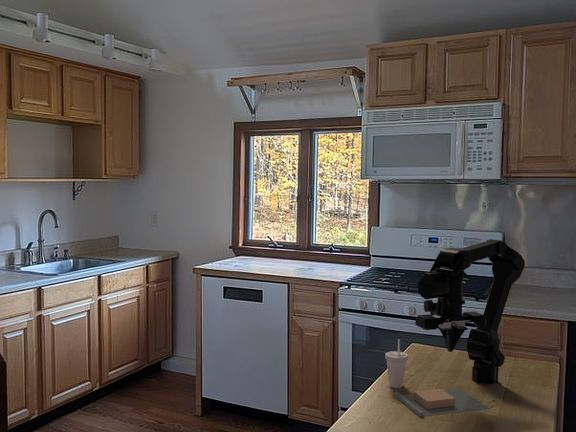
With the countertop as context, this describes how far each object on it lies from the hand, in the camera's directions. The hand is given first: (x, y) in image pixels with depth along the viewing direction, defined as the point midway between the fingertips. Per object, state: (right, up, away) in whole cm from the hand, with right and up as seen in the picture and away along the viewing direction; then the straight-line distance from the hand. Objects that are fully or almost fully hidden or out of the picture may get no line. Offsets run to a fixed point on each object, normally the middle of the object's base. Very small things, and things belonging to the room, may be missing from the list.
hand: (450, 351), depth 157 cm
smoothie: (-14, -12, +5) cm, 19 cm away
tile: (-2, -11, -6) cm, 12 cm away
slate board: (-4, -13, -7) cm, 15 cm away
